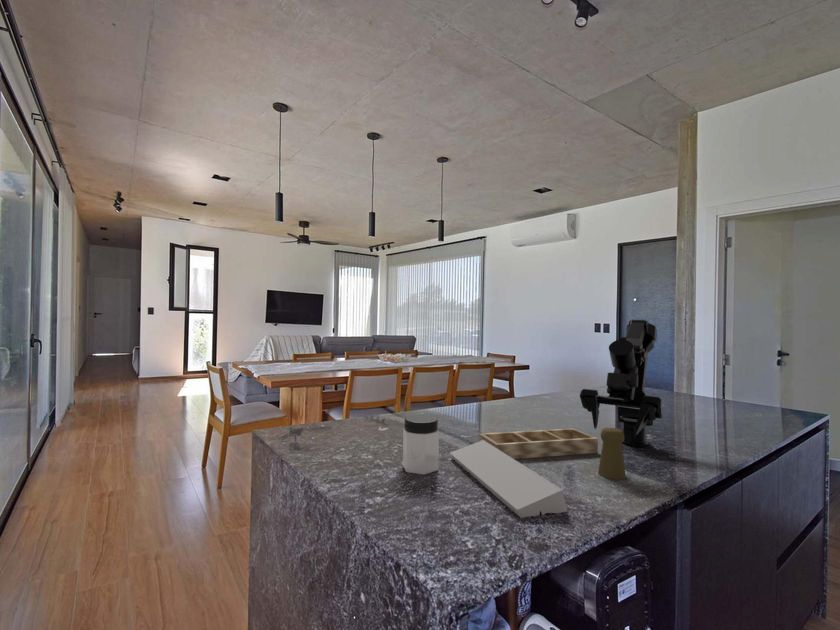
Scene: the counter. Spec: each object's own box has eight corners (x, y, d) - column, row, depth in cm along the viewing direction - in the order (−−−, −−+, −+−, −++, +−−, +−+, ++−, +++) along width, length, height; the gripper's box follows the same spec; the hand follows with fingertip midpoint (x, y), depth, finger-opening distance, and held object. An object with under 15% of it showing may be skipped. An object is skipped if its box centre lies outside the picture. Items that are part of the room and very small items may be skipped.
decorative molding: (523, 534, 78) (567, 513, 80) (517, 509, 77) (562, 489, 80) (453, 470, 110) (487, 457, 113) (449, 452, 110) (483, 440, 113)
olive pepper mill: (593, 470, 104) (594, 425, 104) (616, 470, 104) (617, 425, 104) (606, 479, 98) (607, 432, 98) (631, 479, 98) (631, 431, 98)
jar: (396, 471, 100) (397, 420, 100) (408, 460, 108) (409, 413, 108) (433, 476, 97) (434, 424, 97) (442, 465, 105) (443, 416, 105)
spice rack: (573, 441, 128) (573, 428, 128) (597, 452, 118) (597, 438, 118) (478, 447, 120) (479, 433, 120) (496, 460, 109) (496, 444, 109)
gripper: (582, 358, 113) (569, 405, 104) (662, 363, 102) (655, 416, 93) (589, 384, 120) (577, 431, 110) (664, 392, 109) (659, 444, 99)
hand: (614, 430), depth 103 cm, fingers open, 9 cm apart
